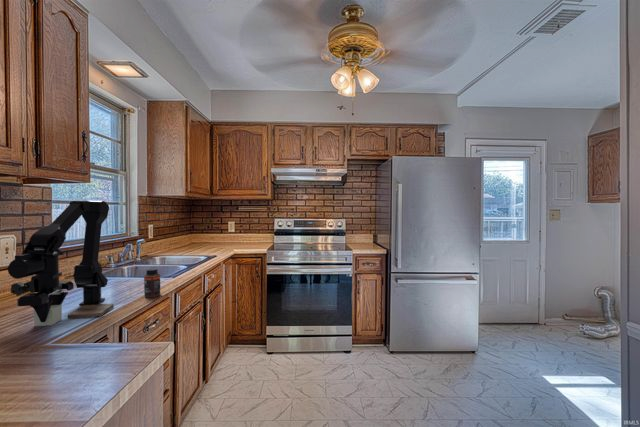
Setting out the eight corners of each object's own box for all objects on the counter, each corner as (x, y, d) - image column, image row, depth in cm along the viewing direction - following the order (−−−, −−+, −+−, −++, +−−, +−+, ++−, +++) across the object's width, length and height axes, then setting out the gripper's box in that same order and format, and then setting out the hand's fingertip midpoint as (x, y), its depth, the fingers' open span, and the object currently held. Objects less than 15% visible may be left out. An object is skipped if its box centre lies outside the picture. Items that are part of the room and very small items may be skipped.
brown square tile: (83, 308, 117) (83, 305, 117) (113, 306, 119) (113, 303, 119) (67, 318, 107) (67, 314, 107) (101, 316, 109) (101, 313, 109)
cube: (44, 320, 105) (44, 305, 105) (61, 319, 106) (61, 304, 106) (34, 326, 100) (34, 310, 100) (52, 325, 101) (52, 309, 101)
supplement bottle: (163, 293, 136) (162, 267, 135) (156, 298, 130) (156, 270, 129) (148, 293, 136) (148, 267, 135) (141, 298, 130) (141, 270, 129)
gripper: (37, 266, 110) (38, 310, 111) (-6, 279, 92) (-4, 332, 92) (73, 265, 112) (74, 308, 113) (39, 277, 94) (41, 329, 95)
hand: (48, 318), depth 103 cm, fingers closed on cube, 5 cm apart
